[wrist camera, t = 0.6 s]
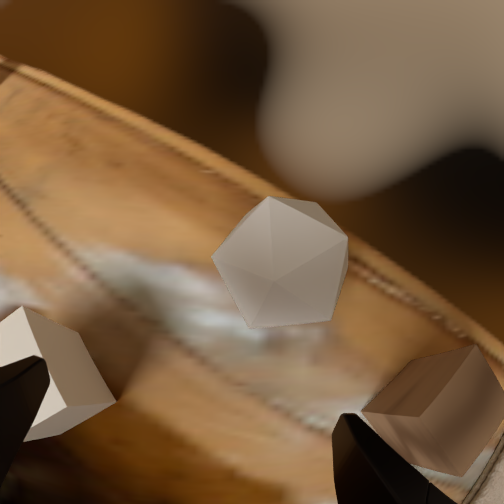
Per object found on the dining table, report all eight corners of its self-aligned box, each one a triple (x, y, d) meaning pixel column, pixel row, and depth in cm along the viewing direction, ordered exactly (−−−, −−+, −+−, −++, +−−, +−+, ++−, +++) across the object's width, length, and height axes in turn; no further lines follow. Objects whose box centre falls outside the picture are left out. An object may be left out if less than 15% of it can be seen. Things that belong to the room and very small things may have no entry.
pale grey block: (116, 401, 19) (66, 406, 12) (60, 434, 17) (-1, 445, 10) (78, 332, 21) (22, 305, 14) (26, 367, 19) (-38, 352, 12)
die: (345, 269, 26) (331, 159, 20) (358, 353, 19) (351, 223, 13) (251, 281, 28) (217, 180, 22) (235, 364, 21) (180, 249, 15)
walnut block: (445, 408, 21) (511, 405, 13) (399, 459, 19) (461, 477, 11) (411, 360, 22) (475, 343, 15) (360, 411, 20) (419, 417, 13)
